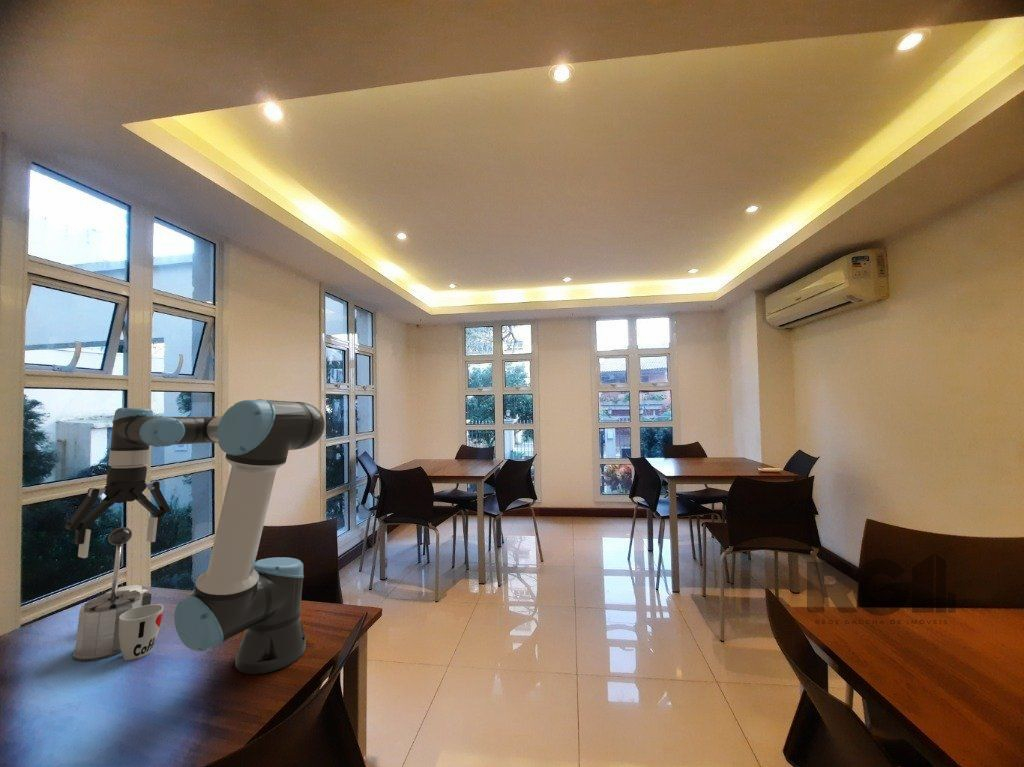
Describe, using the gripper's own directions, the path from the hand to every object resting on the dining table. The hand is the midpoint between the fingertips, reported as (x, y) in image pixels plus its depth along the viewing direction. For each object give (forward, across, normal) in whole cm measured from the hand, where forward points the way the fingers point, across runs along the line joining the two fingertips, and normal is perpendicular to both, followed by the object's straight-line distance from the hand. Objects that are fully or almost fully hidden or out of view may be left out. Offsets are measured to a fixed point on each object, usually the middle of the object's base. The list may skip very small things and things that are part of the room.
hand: (118, 548), depth 102 cm
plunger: (+15, 0, 0) cm, 15 cm away
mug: (+24, -7, -11) cm, 28 cm away
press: (+24, 0, 0) cm, 24 cm away
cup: (+24, -2, +10) cm, 27 cm away
